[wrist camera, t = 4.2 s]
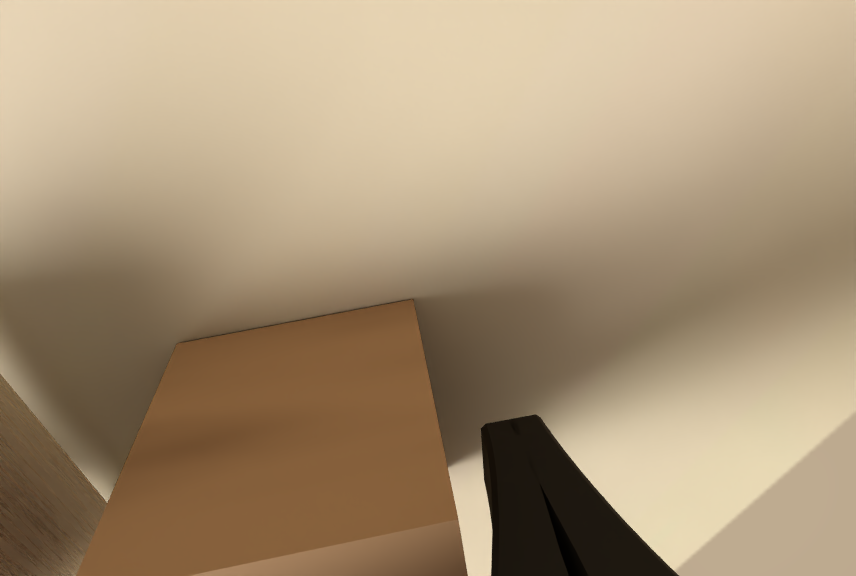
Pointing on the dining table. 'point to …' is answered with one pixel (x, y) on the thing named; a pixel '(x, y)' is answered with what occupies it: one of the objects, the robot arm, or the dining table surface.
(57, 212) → the dining table surface
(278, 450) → the walnut block
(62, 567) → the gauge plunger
